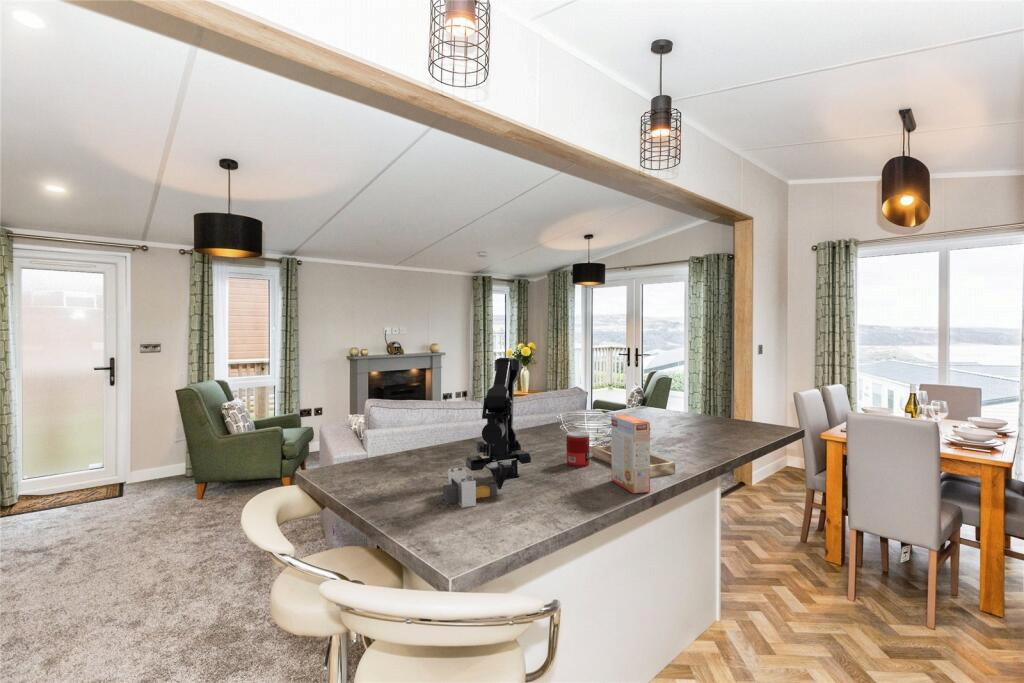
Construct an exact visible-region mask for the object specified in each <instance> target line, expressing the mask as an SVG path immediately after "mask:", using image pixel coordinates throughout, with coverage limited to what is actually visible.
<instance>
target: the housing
mask: <svg viewBox="0 0 1024 683" xmlns="http://www.w3.org/2000/svg"><path fill="white" fill-rule="evenodd" d="M447 473H448V475H447V478H448V480H447V481H448V484H447V485H449V484H456V483H457V484H458V502H457V503H458V505H459V506H460V507H461V509H464V508H470V507H477V498H476V487H477V484H476V483H477V480H476V479H474V477H472V476H471V474H469V473H468V472H467V471H466V470H465V469H464V468H463V467H453V468H448V469H447Z"/></svg>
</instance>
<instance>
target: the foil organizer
mask: <svg viewBox="0 0 1024 683" xmlns="http://www.w3.org/2000/svg"><path fill="white" fill-rule="evenodd" d="M592 457H594V458H595V459H598V460H600V461H603V462H605V463H607V464H609V465H612V444H608V445H599V446H592ZM672 474H676V462H675V461H671V460H670V459H666V458H663V457H660V456H657V455H655V454H652V453H650V478H653V477H659V476H665V475H672Z"/></svg>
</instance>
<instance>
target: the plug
mask: <svg viewBox="0 0 1024 683" xmlns="http://www.w3.org/2000/svg"><path fill="white" fill-rule="evenodd" d="M442 490H443V491H442V492H443V493H442V494H443V495H442V496H443V501H444V500H445V501H446V502H445V501H444V502H445V503H446V504H447V503H449V504H454V503H453V502H455V503H458V484H457V483H456V484H443V485H442ZM496 496H498V488H497V484H496V483H495V480H490V481H486V485H482V486H476V499H481V498H485V497H486V498H487V497H496ZM480 497H481V498H480Z"/></svg>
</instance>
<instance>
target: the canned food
mask: <svg viewBox="0 0 1024 683" xmlns="http://www.w3.org/2000/svg"><path fill="white" fill-rule="evenodd" d="M566 463H567V465H568V466H569V467H574V468H585V467H588V466H589V465H590V434H589V432H587V431H576V430H575V431H569V432H567V433H566Z"/></svg>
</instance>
